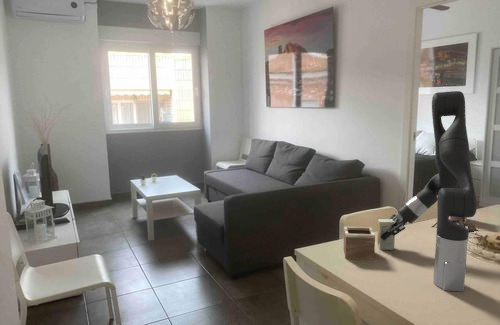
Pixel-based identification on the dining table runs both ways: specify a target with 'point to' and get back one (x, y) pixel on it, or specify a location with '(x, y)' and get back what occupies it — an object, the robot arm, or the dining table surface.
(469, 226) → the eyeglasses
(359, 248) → the slot box
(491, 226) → the dining table surface
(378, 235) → the skincare box
